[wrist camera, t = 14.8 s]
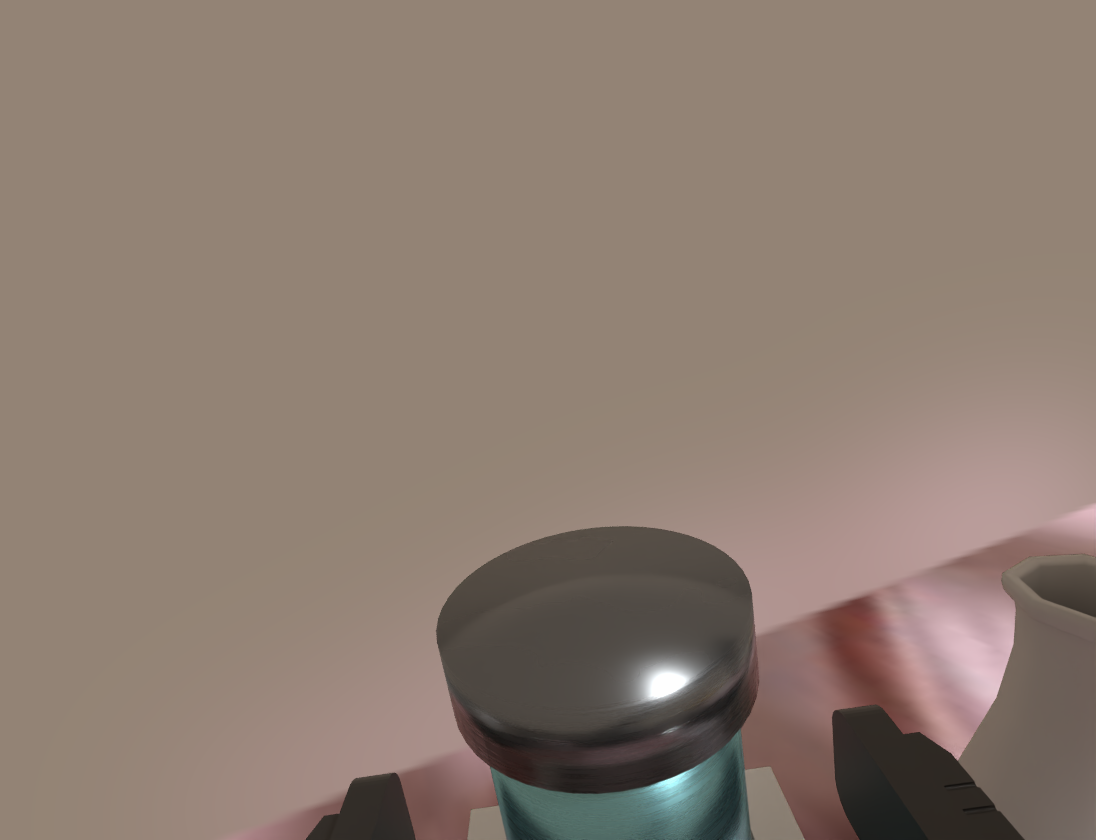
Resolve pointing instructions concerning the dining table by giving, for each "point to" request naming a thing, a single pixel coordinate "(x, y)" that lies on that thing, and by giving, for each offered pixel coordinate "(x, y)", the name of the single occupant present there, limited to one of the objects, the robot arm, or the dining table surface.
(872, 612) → the dining table surface
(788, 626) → the dining table surface
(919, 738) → the robot arm
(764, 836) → the dock
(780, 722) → the dining table surface
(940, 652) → the dining table surface
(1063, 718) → the flask
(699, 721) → the teal capped jar
